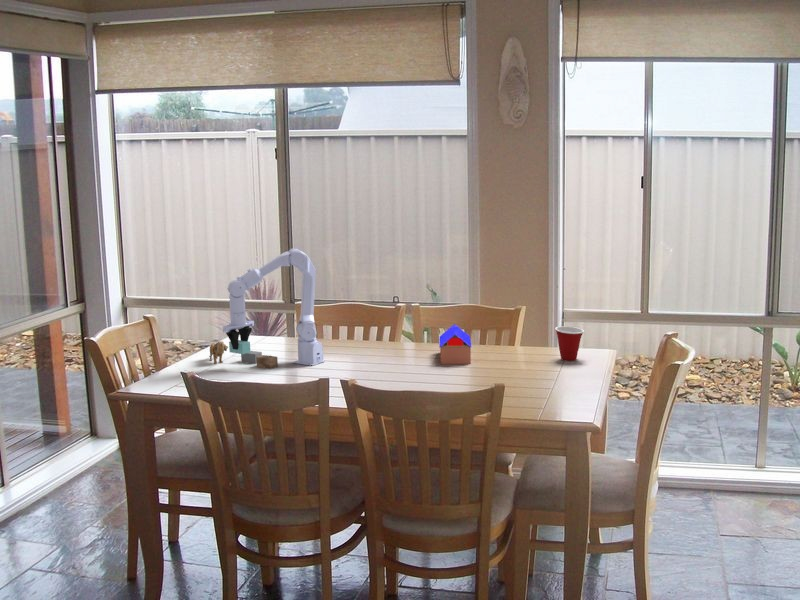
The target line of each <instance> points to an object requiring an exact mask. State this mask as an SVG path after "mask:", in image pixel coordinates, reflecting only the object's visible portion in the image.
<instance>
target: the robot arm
mask: <svg viewBox="0 0 800 600" xmlns="http://www.w3.org/2000/svg"><path fill="white" fill-rule="evenodd" d="M290 264H291V265H292V266H293V267H294V268H297V270H299V271H300V273H301V274H302V283H301V299H300V300H301V301H300V303H301V304H300V315H299V318H298V319H299V320H298V323H297V325H296V328H295V329H296V333H297V334H298V337H297V339H296V340H297V341H296V343H297V360H294V361H293V364H298V365H306V366H311V365H312V366H316V365H318V364H322V363H325V361H326V360H324V346H323V343H322V342H321V341H318V340H317V337H316V336H317V329H316V326H315V317H314V316H315V315H314V312H315V296H316V295H315V293H316V274H317V273H316V272H317V270H316V267H315V266H314V264H313V262H312V261H311V259H310V257H309V255H308V254H306V253H305V252H304V251H302V250H300V249H299V248H296V247H292V248H290V249H289V250H288V251H284V252H282V253H281V254H279V255H277V256H276V257H275V258H273V259H272V260H271V261H269V262H267V263H266V264H264V265H263V266H261V267H260V268H258V269H257V268H252V269H251V268H249V269H247V272H246V273H244V274H243V275H241V276H237V277H236V279H234V280H231V281H230V282H229V283H228V286H227V291H228V293H229V296H228V297H229V303H228V304H229V315H230V317H229V318H230V319H229V321H230V322H229V324H227V325H224V326H222V333H225V335H226V336H227V337H228V339H229V342H231V344H232V347H233V349H236V350H237V349H238V340H239V337H240V340H241V341H248V342H249V338H250V335H251V333H252V332H253V331H252V330H253V328H252V327H254V326H255V320H247V316H246V315H247V314H246V300H245V294H246V291H249V290H251V289H252V288H254V287H255V286H257V285H259V284H260V283H261V282H263V279H264V277H266V276H267V275H268V274H270V273H272V272H274V271H275V270H278V269H279V268H281V267H291V265H290ZM237 330H238V331H237Z"/></svg>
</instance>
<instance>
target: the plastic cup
mask: <svg viewBox="0 0 800 600" xmlns="http://www.w3.org/2000/svg"><path fill="white" fill-rule="evenodd" d="M555 332H556V337H557V343H558V350H559V353H560V354H559V356H560V360H562V361H565V362H574V361H576V360H577V357H578V354H579V353H578V352H579V349H580V344H581V339H582V336H583V333H585V330H584V329H582V328H579V327H574V326H565V325H564V326H562V325H561V326H560V325H559V326H556V327H555Z"/></svg>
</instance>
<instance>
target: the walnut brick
mask: <svg viewBox="0 0 800 600" xmlns="http://www.w3.org/2000/svg"><path fill="white" fill-rule="evenodd" d="M278 360H279V359H278V356H273V355H265V354H262V355H261V356H258V357H256V362H257V364H256V368H261V369H267V370H268V369H270V370H272V369H275V368H278V367H279V366H278V365H279V363H278V362H279V361H278Z"/></svg>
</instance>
